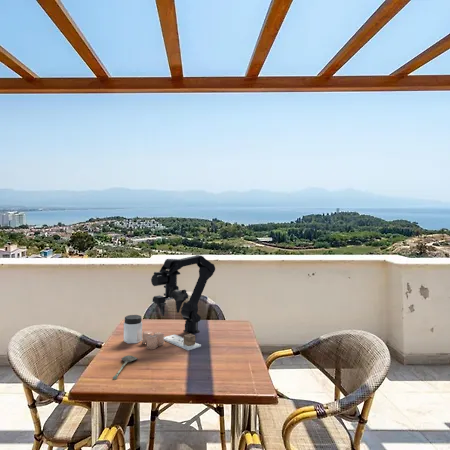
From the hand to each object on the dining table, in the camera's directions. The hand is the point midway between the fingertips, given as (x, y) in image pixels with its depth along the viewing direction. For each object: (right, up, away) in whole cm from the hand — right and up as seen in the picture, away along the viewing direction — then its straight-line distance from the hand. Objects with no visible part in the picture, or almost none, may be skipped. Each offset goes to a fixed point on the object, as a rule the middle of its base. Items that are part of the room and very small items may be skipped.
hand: (170, 314), depth 193 cm
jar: (-18, -12, -6) cm, 22 cm away
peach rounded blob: (-7, -12, -14) cm, 20 cm away
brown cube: (+11, -11, -12) cm, 20 cm away
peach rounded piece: (-10, -12, -8) cm, 18 cm away
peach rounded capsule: (-4, -12, -9) cm, 16 cm away
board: (+6, -12, -7) cm, 16 cm away
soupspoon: (-14, -14, -38) cm, 43 cm away
